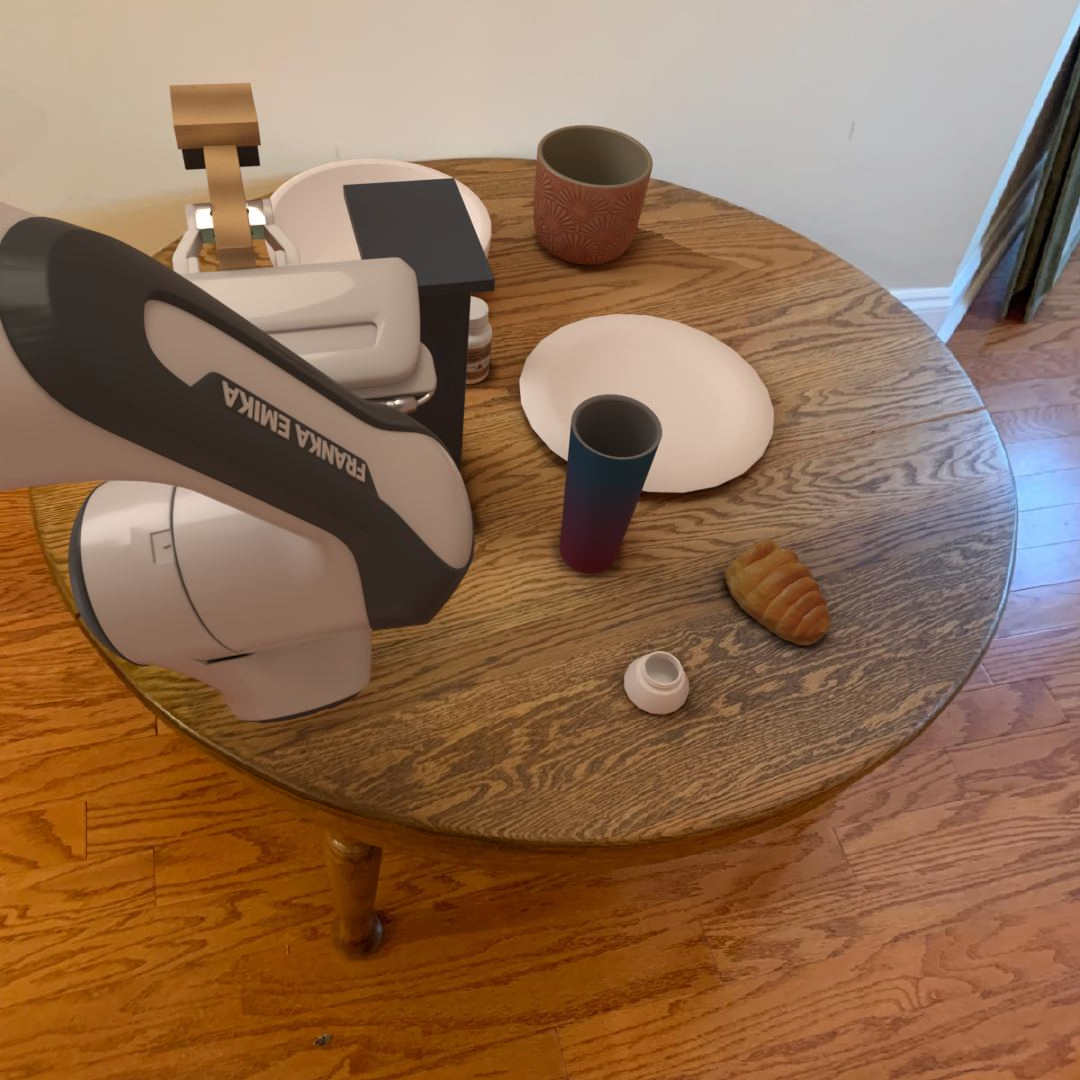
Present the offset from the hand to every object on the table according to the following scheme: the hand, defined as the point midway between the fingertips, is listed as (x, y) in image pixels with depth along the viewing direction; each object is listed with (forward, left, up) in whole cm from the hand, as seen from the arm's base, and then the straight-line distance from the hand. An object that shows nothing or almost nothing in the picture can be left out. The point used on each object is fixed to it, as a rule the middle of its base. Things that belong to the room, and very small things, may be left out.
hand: (228, 205), depth 57 cm
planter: (+38, +36, -31) cm, 61 cm away
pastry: (+39, -15, -31) cm, 52 cm away
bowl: (+14, +31, -31) cm, 46 cm away
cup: (+25, -7, -31) cm, 40 cm away
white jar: (+26, -21, -31) cm, 45 cm away
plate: (+36, +9, -31) cm, 48 cm away
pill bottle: (+20, +17, -31) cm, 41 cm away
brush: (0, +3, -1) cm, 3 cm away
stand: (+12, +3, -31) cm, 33 cm away
